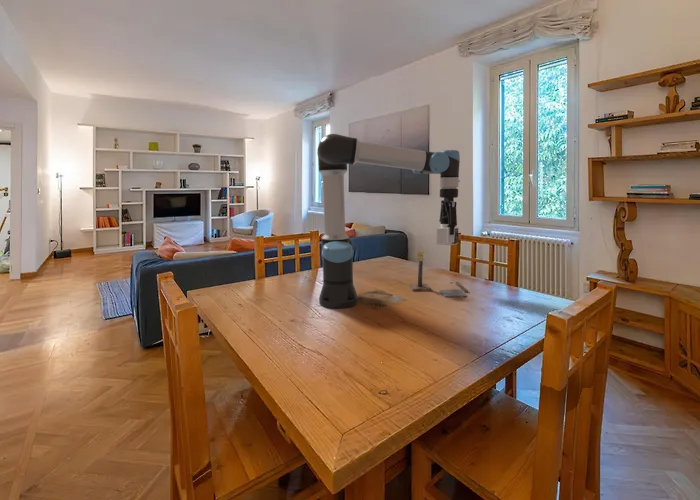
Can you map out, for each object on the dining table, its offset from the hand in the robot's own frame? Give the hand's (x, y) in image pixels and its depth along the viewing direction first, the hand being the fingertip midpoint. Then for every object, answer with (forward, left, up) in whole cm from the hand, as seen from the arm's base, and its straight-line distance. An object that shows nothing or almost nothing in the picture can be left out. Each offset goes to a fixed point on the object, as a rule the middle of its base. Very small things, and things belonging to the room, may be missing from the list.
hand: (447, 240), depth 164 cm
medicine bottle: (0, 0, -2) cm, 2 cm away
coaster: (+1, -8, -21) cm, 23 cm away
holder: (-3, +1, -21) cm, 22 cm away
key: (-10, +5, -9) cm, 14 cm away
